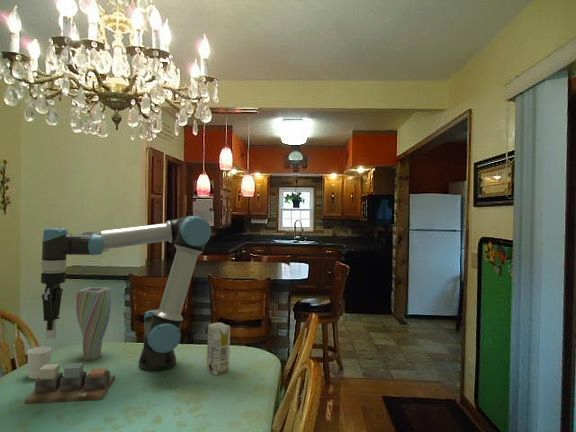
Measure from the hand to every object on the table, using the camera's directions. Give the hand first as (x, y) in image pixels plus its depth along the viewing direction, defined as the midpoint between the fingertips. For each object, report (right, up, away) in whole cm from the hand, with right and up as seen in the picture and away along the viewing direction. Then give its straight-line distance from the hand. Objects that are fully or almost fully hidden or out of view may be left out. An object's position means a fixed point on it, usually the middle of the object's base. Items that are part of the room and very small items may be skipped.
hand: (50, 338), depth 142 cm
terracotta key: (+15, -18, +3) cm, 23 cm away
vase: (-2, -19, +34) cm, 39 cm away
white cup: (-12, -19, +13) cm, 26 cm away
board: (+7, -19, +1) cm, 20 cm away
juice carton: (+55, -21, +23) cm, 63 cm away
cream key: (0, -15, 0) cm, 15 cm away
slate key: (+7, -15, +1) cm, 17 cm away
